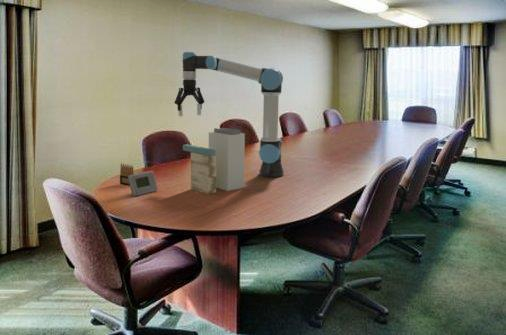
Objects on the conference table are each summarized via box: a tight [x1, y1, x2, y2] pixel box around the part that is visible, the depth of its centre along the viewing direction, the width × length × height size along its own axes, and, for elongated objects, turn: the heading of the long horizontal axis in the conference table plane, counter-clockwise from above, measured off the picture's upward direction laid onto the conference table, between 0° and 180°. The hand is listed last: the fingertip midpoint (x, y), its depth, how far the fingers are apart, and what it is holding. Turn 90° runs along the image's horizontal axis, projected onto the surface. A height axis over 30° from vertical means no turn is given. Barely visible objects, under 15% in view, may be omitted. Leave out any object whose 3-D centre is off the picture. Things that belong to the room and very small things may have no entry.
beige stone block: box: [190, 152, 217, 195], centre depth 242 cm, size 6×14×20 cm, turn 44°
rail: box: [182, 143, 215, 156], centre depth 242 cm, size 3×24×3 cm, turn 44°
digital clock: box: [128, 170, 158, 197], centre depth 236 cm, size 16×9×11 cm, turn 130°
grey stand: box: [208, 127, 246, 192], centre depth 250 cm, size 12×16×32 cm
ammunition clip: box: [119, 162, 135, 187], centre depth 252 cm, size 11×2×12 cm, turn 56°
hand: (190, 115), depth 270 cm, fingers open, 13 cm apart
